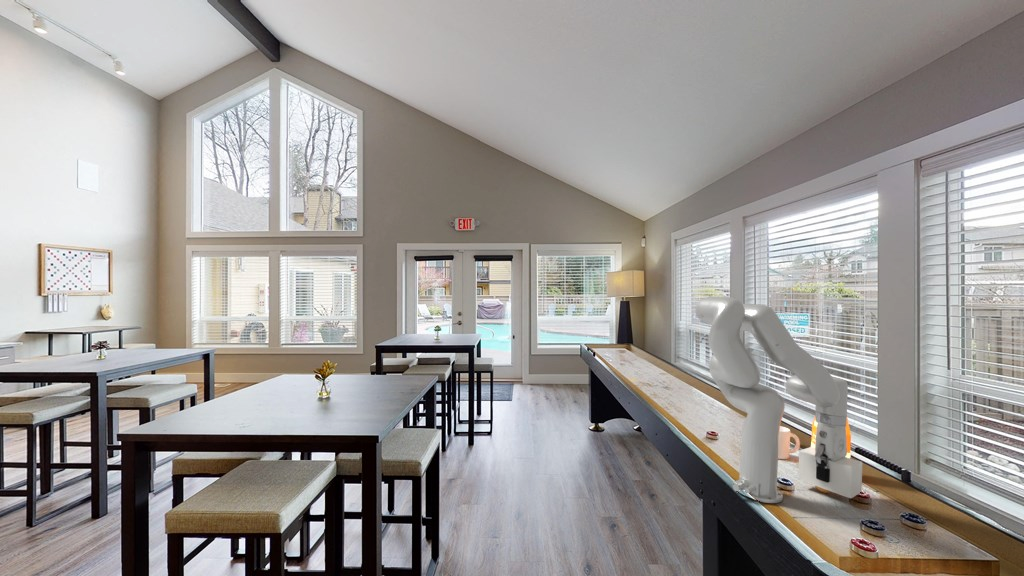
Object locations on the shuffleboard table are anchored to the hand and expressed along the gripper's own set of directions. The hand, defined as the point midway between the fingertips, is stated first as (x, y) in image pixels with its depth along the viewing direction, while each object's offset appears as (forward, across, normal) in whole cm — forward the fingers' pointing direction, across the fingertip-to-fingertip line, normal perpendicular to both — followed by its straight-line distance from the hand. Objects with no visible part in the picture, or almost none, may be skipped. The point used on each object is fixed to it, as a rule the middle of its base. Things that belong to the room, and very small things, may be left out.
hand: (829, 477), depth 125 cm
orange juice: (+5, +20, +7) cm, 22 cm away
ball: (+2, 0, +1) cm, 3 cm away
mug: (+5, +20, +22) cm, 30 cm away
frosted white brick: (+3, 0, 0) cm, 3 cm away
